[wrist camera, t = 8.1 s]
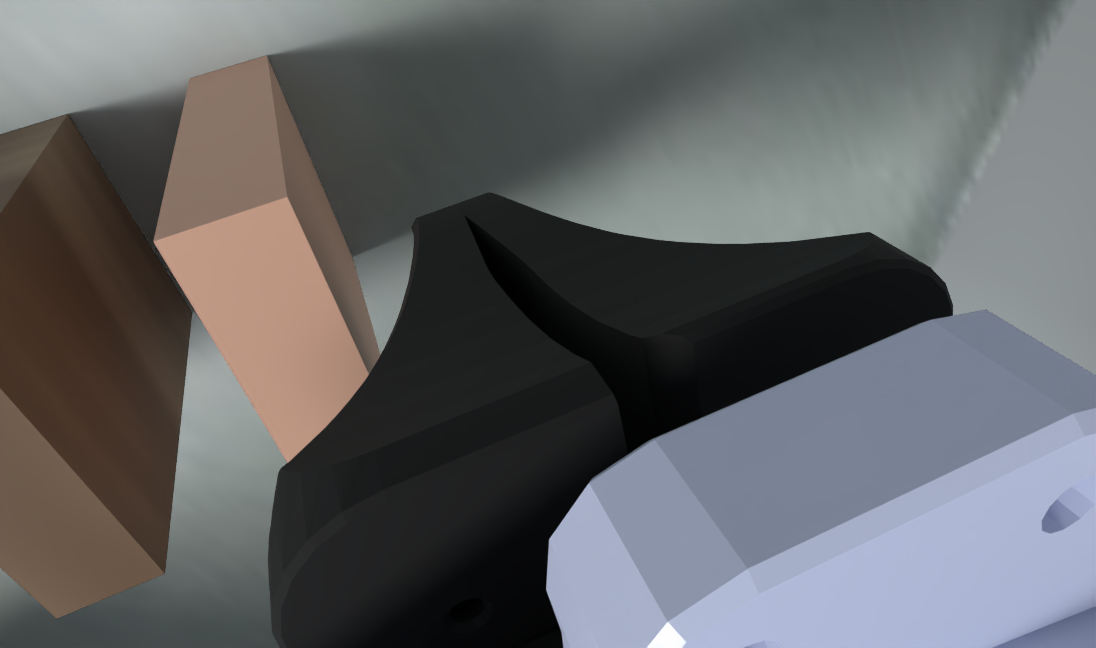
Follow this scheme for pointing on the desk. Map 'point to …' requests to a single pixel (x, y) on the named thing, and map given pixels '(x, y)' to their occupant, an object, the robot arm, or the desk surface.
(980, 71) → the desk surface
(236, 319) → the domino
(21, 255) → the domino
